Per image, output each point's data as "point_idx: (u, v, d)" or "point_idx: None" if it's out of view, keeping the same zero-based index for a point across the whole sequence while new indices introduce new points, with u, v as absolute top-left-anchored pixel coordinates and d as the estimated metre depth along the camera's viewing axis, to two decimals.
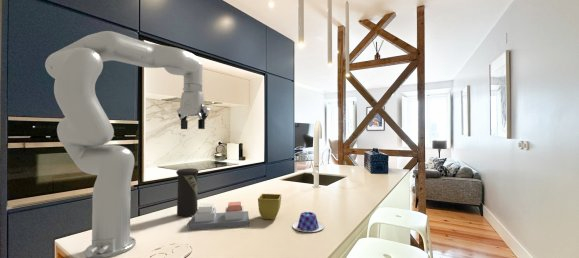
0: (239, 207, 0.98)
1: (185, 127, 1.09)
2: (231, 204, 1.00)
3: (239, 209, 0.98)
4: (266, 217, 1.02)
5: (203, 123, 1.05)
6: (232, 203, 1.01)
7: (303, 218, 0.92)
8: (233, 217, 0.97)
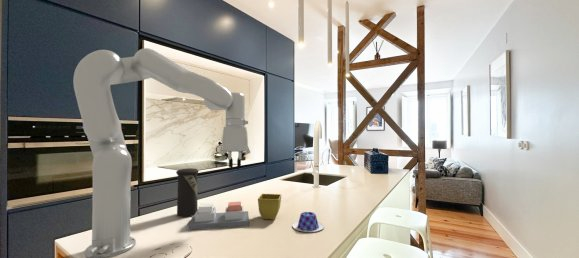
0: (239, 207, 0.98)
1: (237, 167, 1.00)
2: (231, 204, 1.00)
3: (239, 209, 0.98)
4: (266, 217, 1.02)
5: (229, 163, 1.00)
6: (232, 203, 1.01)
7: (303, 218, 0.92)
8: (233, 217, 0.97)
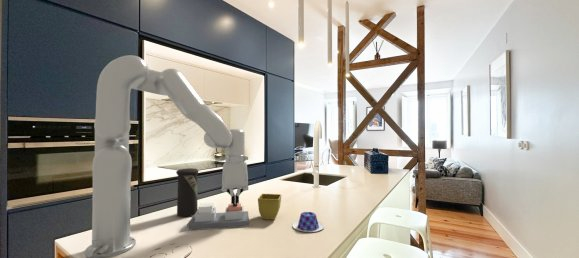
0: (239, 209, 0.98)
1: None
2: (231, 205, 1.00)
3: None
4: (266, 217, 1.02)
5: (231, 199, 1.00)
6: (232, 205, 1.01)
7: (303, 218, 0.92)
8: (233, 217, 0.97)
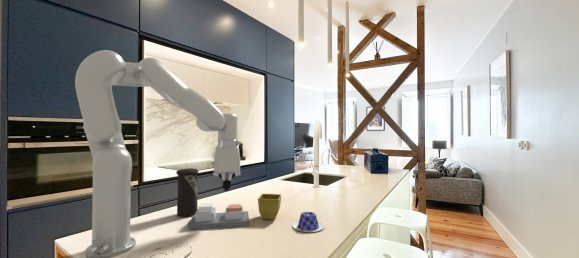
0: (239, 210, 0.98)
1: None
2: (231, 206, 1.00)
3: None
4: (266, 217, 1.02)
5: (223, 184, 0.99)
6: (232, 205, 1.01)
7: (303, 218, 0.92)
8: (233, 217, 0.97)
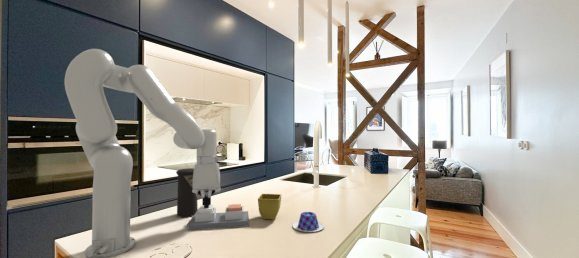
0: (239, 210, 0.98)
1: None
2: (231, 206, 1.00)
3: None
4: (266, 217, 1.02)
5: None
6: (232, 205, 1.01)
7: (303, 218, 0.92)
8: (233, 217, 0.97)
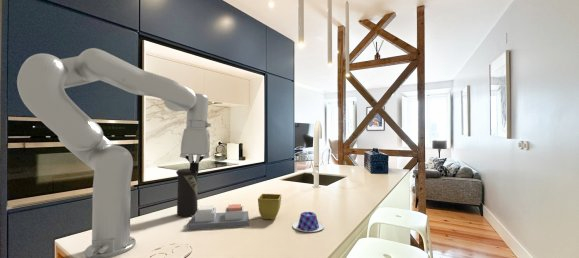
0: (239, 210, 0.98)
1: None
2: (231, 206, 1.00)
3: None
4: (266, 217, 1.02)
5: None
6: (232, 205, 1.01)
7: (304, 218, 0.92)
8: (233, 217, 0.97)
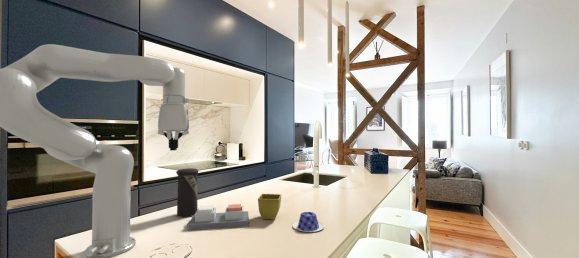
0: (239, 210, 0.98)
1: None
2: (231, 206, 1.00)
3: None
4: (266, 217, 1.02)
5: None
6: (232, 205, 1.01)
7: (304, 218, 0.92)
8: (233, 217, 0.97)
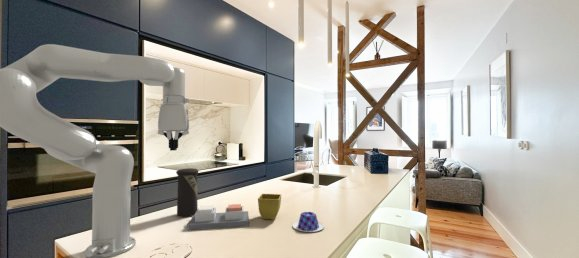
0: (239, 210, 0.98)
1: None
2: (231, 206, 1.00)
3: None
4: (266, 217, 1.02)
5: None
6: (232, 205, 1.01)
7: (304, 218, 0.92)
8: (233, 217, 0.97)
